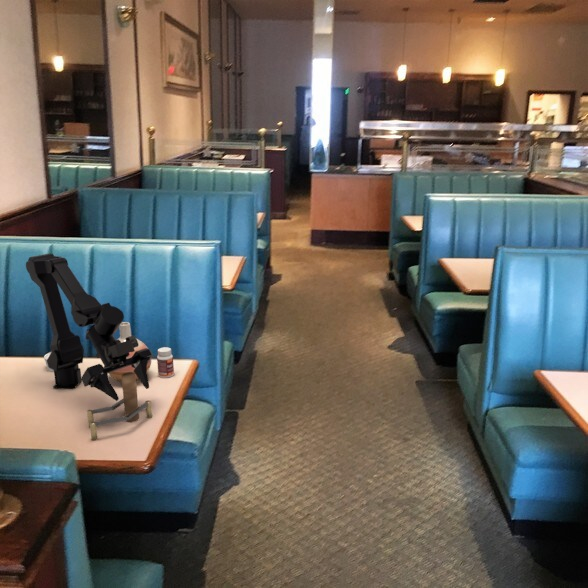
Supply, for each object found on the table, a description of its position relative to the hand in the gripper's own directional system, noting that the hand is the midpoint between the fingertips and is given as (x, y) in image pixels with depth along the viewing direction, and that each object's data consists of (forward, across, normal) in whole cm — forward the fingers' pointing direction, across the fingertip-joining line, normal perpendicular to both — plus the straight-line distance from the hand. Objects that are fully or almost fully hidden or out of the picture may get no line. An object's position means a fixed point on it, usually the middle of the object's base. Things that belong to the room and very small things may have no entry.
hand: (133, 394), depth 161 cm
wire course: (+5, -4, +6) cm, 9 cm away
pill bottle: (-7, +23, +18) cm, 30 cm away
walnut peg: (+4, 0, +6) cm, 8 cm away
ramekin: (-29, +5, +40) cm, 50 cm away
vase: (-12, +14, +23) cm, 29 cm away
